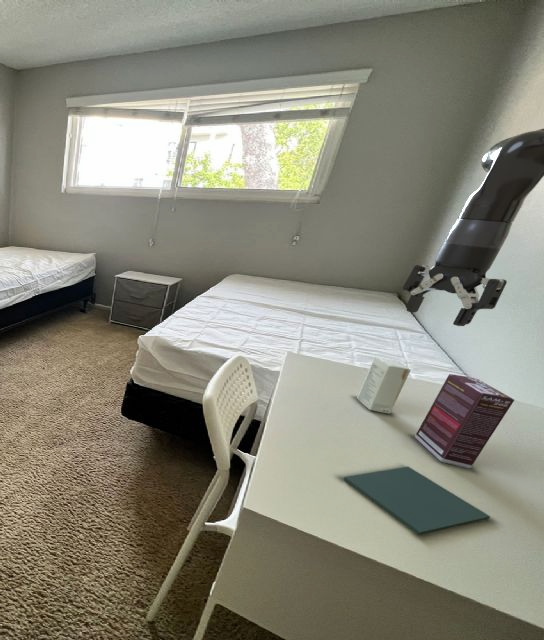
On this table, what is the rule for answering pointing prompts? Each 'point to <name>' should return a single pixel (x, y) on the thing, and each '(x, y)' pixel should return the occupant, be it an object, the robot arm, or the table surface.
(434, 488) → the desk mat
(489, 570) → the table surface
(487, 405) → the supplement box
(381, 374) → the cosmetic box
